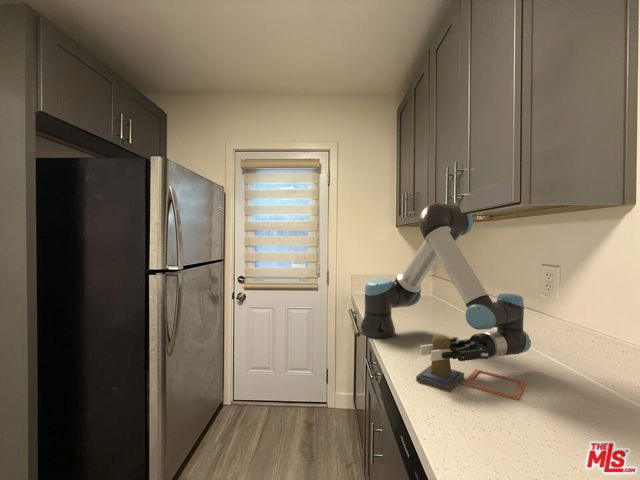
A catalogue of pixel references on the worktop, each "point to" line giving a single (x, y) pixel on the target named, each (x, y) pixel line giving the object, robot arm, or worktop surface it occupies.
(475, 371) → the marked square
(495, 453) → the worktop surface
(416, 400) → the worktop surface
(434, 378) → the ink pad
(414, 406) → the worktop surface
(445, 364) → the cork
